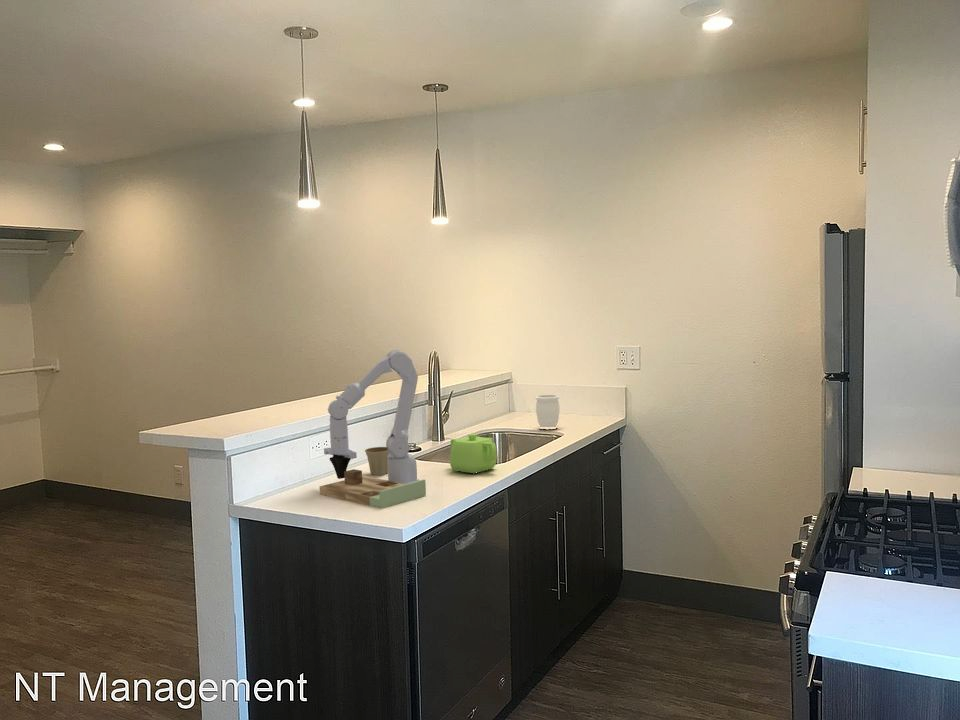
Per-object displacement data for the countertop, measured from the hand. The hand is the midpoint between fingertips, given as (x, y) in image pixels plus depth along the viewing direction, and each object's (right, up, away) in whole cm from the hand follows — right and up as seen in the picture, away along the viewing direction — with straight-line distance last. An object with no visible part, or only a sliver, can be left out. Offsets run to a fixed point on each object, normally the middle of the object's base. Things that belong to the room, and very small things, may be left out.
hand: (341, 478), depth 265 cm
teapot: (+44, 0, +22) cm, 50 cm away
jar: (+76, +7, +102) cm, 128 cm away
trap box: (+11, -4, -10) cm, 16 cm away
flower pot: (+10, -2, +21) cm, 23 cm away
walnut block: (+5, -1, -4) cm, 6 cm away
